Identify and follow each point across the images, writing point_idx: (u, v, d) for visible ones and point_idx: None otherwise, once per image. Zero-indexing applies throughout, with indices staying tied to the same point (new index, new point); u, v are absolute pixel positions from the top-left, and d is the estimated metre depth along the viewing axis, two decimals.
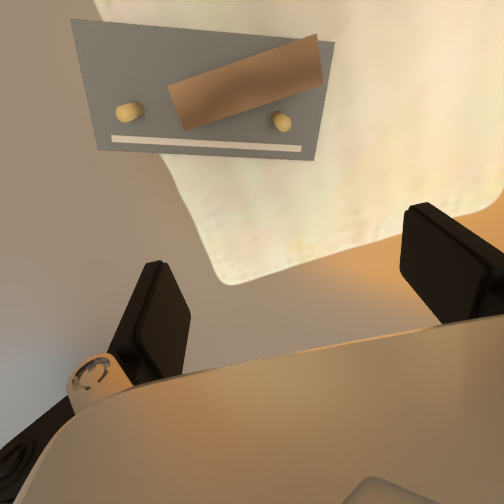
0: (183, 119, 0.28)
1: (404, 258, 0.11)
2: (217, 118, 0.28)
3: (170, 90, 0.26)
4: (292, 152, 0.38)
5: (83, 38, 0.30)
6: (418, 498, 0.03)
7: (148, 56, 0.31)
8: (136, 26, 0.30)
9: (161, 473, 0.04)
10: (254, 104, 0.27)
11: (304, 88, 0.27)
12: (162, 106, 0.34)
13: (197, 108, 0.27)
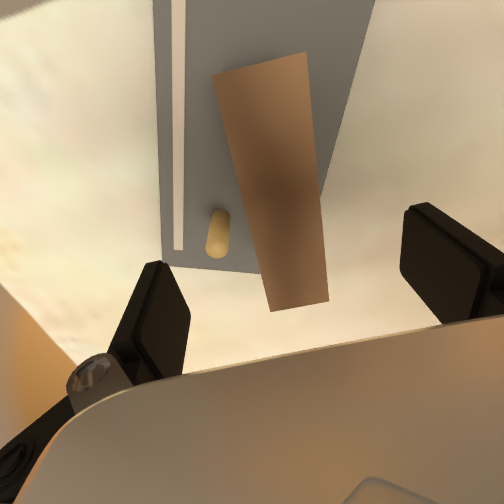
0: (236, 78, 0.12)
1: (404, 258, 0.11)
2: (234, 157, 0.14)
3: (297, 58, 0.12)
4: (172, 238, 0.25)
5: None
6: (418, 498, 0.03)
7: None
8: None
9: (161, 473, 0.04)
10: (254, 225, 0.16)
11: (268, 292, 0.18)
12: (245, 5, 0.17)
13: (256, 118, 0.13)
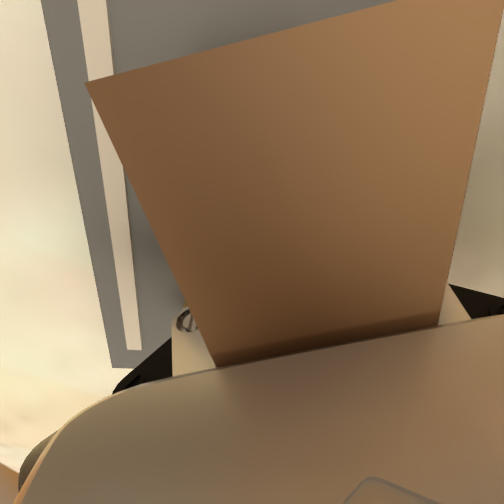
0: (194, 95, 0.03)
1: None
2: (205, 325, 0.05)
3: (460, 6, 0.03)
4: (123, 334, 0.16)
5: None
6: (418, 498, 0.03)
7: None
8: None
9: (161, 473, 0.04)
10: None
11: None
12: None
13: (272, 228, 0.04)
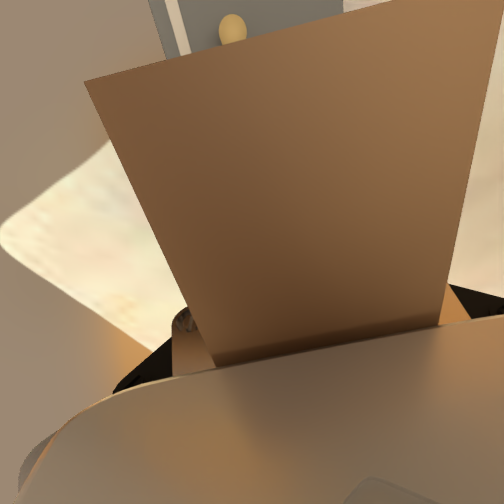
0: (193, 94, 0.03)
1: None
2: (205, 324, 0.05)
3: (461, 5, 0.03)
4: None
5: None
6: (418, 498, 0.03)
7: None
8: None
9: (161, 473, 0.04)
10: None
11: None
12: None
13: (272, 228, 0.04)
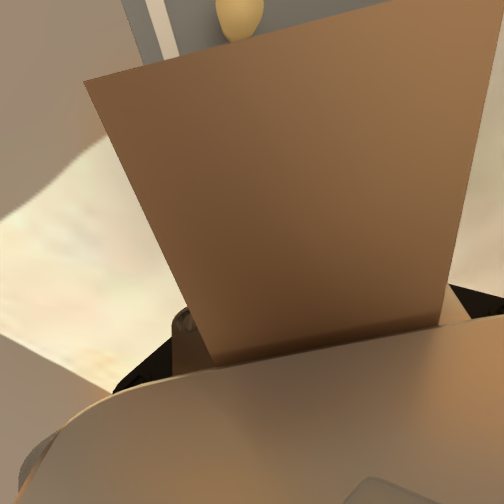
0: (193, 94, 0.03)
1: None
2: (205, 325, 0.05)
3: (461, 5, 0.03)
4: None
5: None
6: (418, 498, 0.03)
7: None
8: None
9: (161, 473, 0.04)
10: None
11: None
12: None
13: (272, 229, 0.04)
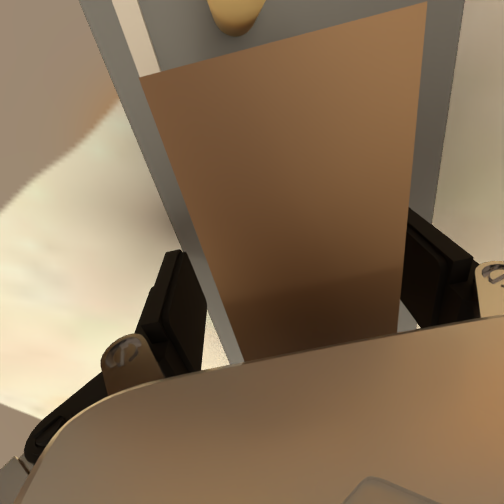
0: (213, 86, 0.04)
1: None
2: (217, 269, 0.06)
3: (395, 25, 0.04)
4: None
5: None
6: (418, 498, 0.03)
7: None
8: None
9: (161, 473, 0.04)
10: None
11: None
12: None
13: (269, 188, 0.05)
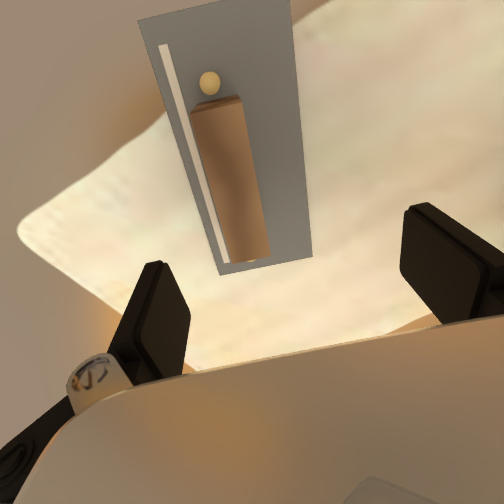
0: (203, 116, 0.21)
1: (404, 258, 0.11)
2: (204, 160, 0.23)
3: (237, 106, 0.21)
4: (221, 256, 0.38)
5: (271, 3, 0.24)
6: (418, 498, 0.03)
7: (269, 92, 0.28)
8: (294, 76, 0.27)
9: (161, 473, 0.04)
10: (217, 203, 0.25)
11: (230, 249, 0.28)
12: None
13: (215, 138, 0.22)
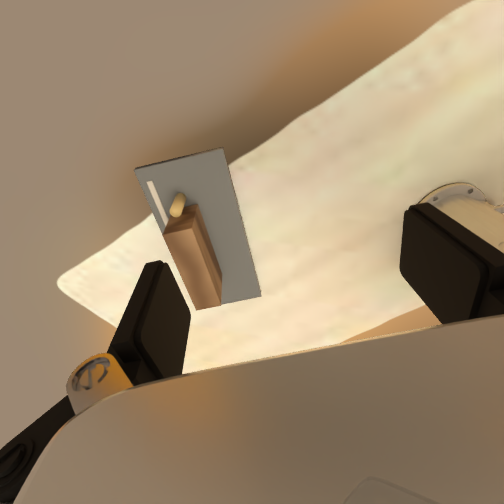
0: (170, 235, 0.37)
1: (404, 258, 0.11)
2: (173, 256, 0.39)
3: (189, 230, 0.37)
4: None
5: (213, 158, 0.40)
6: (418, 498, 0.03)
7: (218, 202, 0.44)
8: (233, 192, 0.43)
9: (161, 473, 0.04)
10: (183, 277, 0.41)
11: (193, 302, 0.44)
12: None
13: (178, 245, 0.38)
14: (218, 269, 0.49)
